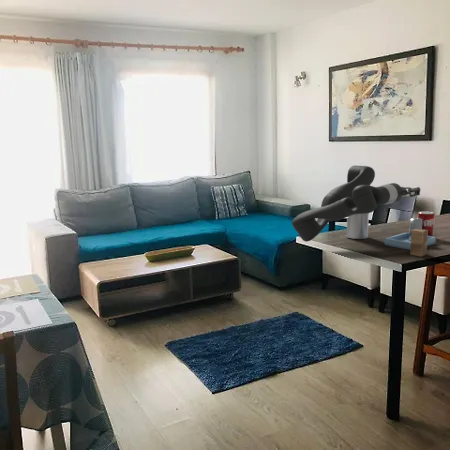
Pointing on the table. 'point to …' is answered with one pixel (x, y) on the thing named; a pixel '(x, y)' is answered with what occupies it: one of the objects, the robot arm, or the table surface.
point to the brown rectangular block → (419, 242)
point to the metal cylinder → (414, 225)
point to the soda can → (427, 221)
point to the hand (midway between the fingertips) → (409, 189)
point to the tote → (405, 241)
